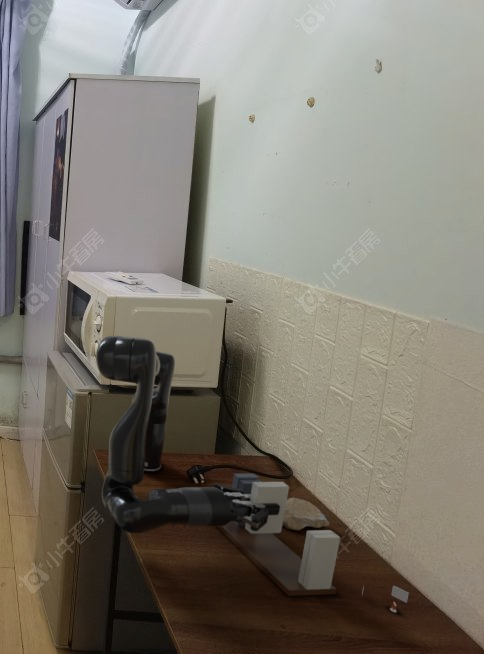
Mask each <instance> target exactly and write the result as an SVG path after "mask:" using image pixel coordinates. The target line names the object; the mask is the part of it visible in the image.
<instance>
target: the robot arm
mask: <svg viewBox="0 0 484 654" xmlns="http://www.w3.org/2000/svg"><path fill="white" fill-rule="evenodd" d="M95 353H96V354H95V363H96V367H97V370H98V372H99V373H100V375H101V376H102V377H103V378H105V379H107V380H111V381H115V382H116V381H117V382H118V381H119V382H124V383H130V384H136V390H135V392H134V393H133V395H132V399H131V404H130V405H129V407H128V408H127V409H126V411H125V413H124V414H123V415H122V416H121V418H120V419H119V420H118V421H117V423H116V424H115V426H114V427H113V428H112V430H111V433H110V435H109V439H108V459H107V470H106V472H105V477H104V481H103V484H102V488H101V503H102V506H103V508H104V509H103V510H105V512H106V513H107V514H108V515H109V517H110V518H111V519H112V520H113V521H114V523H115V524H116V525H117V526H118V527H119V528H120V529H121V530H123V531H124V532H127V533H129V534H137V535H138V534H139V535H140V534H146V533H148V532H151V531H155V530H158V529H160V528H163V527H165V526H166V527H167V526H168V527H170V526H171V527H172V526H173V527H174V526H185V527H217V526H224V525H226V524H228V523H229V522H231V521H236V522H245V523H247V524H249V525H251V527H250V528H251V530H253V531H258V530H259V529H260V528H261V527H263V526H264V525H265V524H266V523H267V521H268V515H278V514H279V510H280V506H279V505H278V504H277V503H262V504H258V503H252V502H251V501H250V496H251V495H250V494H245V493H244V491H243V490H241V489H237V488H233V487H232V486H230V485H229V486H228V485H225V484H219V483H213V485H212V486H187V487H179V488H155V489H151V490H150V491H149V492H148V493H147V495H146V498H145V499H143V498H140V497H138V495H137V494H136V493H134V486H137V485H140V484H141V483H142V482H143V481H144V478H145V473H156V472H157V473H158V472H159V471H160V470H161V469H162V459H163V458H162V457H163V453H164V452H163V451H164V444H165V438H166V437H165V435H166V430H167V421H168V413H169V404H170V396H171V389H172V385H173V379H174V374H175V368H176V359H175V357H174V355H173V354H171V353H170V352H169V353H168V352H163V351H158V350H157V349H156V345H155V343H154V341H153V340H151V339H149V338H143V337H133V336H125V335H124V336H123V335H108V336H105V337H104V338H103V339H102V340H100V342H99V344H98V346H97V349H96V352H95ZM155 386H157V387H156V388H155ZM232 492H235V493H232ZM255 509H257V512H255Z"/></svg>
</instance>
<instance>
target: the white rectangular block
mask: <svg viewBox="0 0 484 654" xmlns="http://www.w3.org/2000/svg"><path fill="white" fill-rule="evenodd" d="M289 490H290V486H289V485H288V484H287V483H285V482H284V481H262V482H253V484H252V490H251V496H250V501H251V502H252V503H258V504H262V503H277V504H278V505H279V506H280V510H279V514H278V515H268V521H267V523H266V524H265V525H264V526H263V527H261V528H260V529H259V530H258V531H253V530H251V528H250V527H251V525H249V524H247V523H246V526H245V529H247V530H248V531H249V532H250V533H251V534H259V533H272V534H281V533H282V529H283V525H282V524H283V519H284V513H285V507H286V502H287V499H288V496H289ZM255 512H257V509H255Z"/></svg>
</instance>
